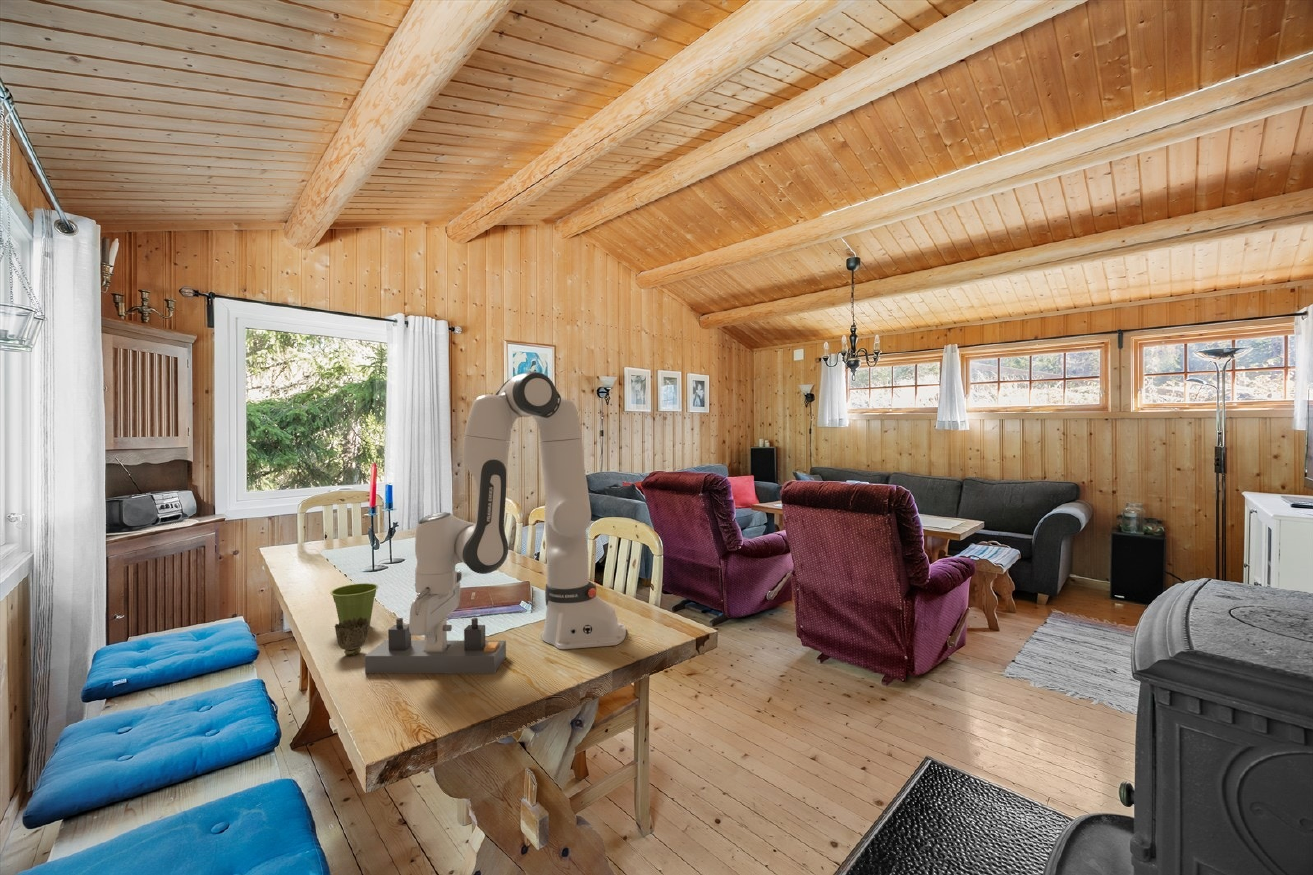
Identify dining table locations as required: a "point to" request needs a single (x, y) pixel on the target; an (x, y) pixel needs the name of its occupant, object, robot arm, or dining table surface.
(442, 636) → the plug
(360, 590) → the plant pot
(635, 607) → the dining table surface
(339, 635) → the cup
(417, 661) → the power strip
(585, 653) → the dining table surface
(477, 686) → the dining table surface
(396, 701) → the dining table surface
